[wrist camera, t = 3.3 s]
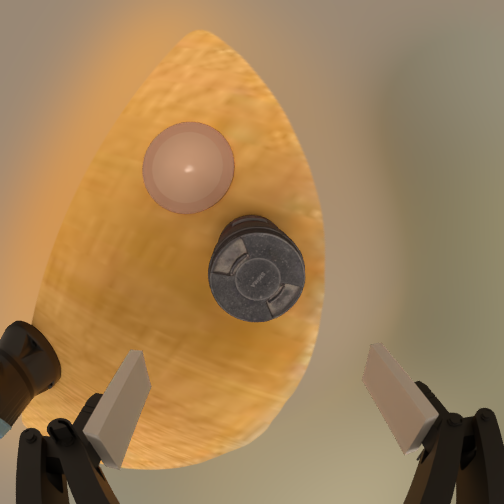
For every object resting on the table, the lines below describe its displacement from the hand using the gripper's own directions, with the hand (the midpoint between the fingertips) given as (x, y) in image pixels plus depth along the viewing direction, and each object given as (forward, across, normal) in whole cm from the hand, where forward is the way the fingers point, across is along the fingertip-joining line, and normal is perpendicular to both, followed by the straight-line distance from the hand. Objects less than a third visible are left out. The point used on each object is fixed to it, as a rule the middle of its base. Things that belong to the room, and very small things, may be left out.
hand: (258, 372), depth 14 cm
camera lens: (+23, 0, +3) cm, 23 cm away
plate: (+23, -8, +13) cm, 27 cm away
